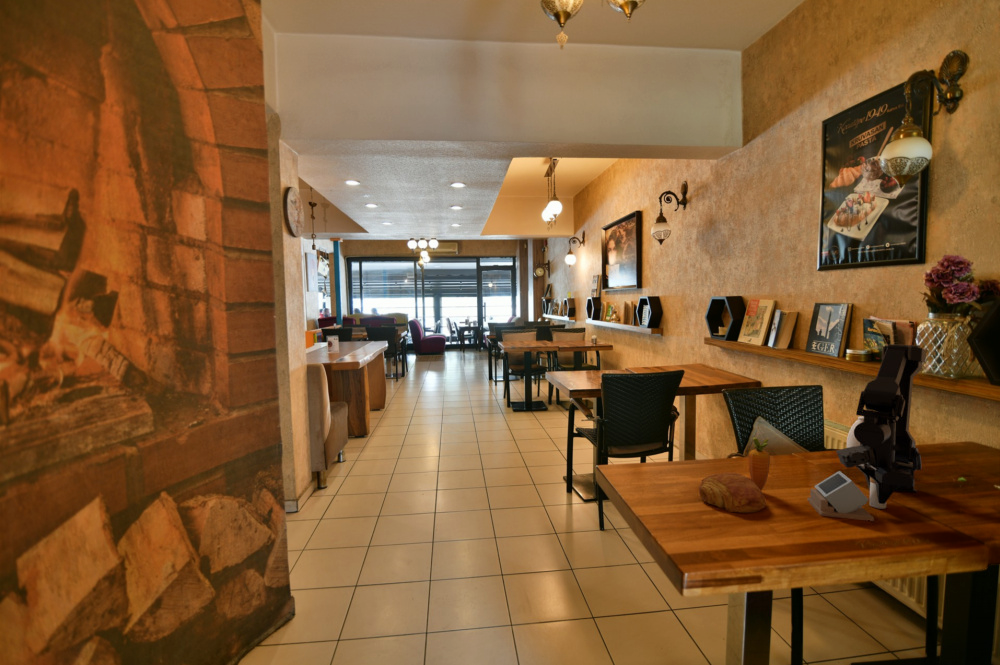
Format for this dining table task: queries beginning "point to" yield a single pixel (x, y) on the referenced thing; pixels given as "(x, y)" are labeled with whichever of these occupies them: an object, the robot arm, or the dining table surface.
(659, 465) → the dining table surface
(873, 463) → the robot arm
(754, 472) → the carrot
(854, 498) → the leaning socket
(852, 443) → the sauce bottle
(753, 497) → the croissant
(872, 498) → the orange-topped white peg
